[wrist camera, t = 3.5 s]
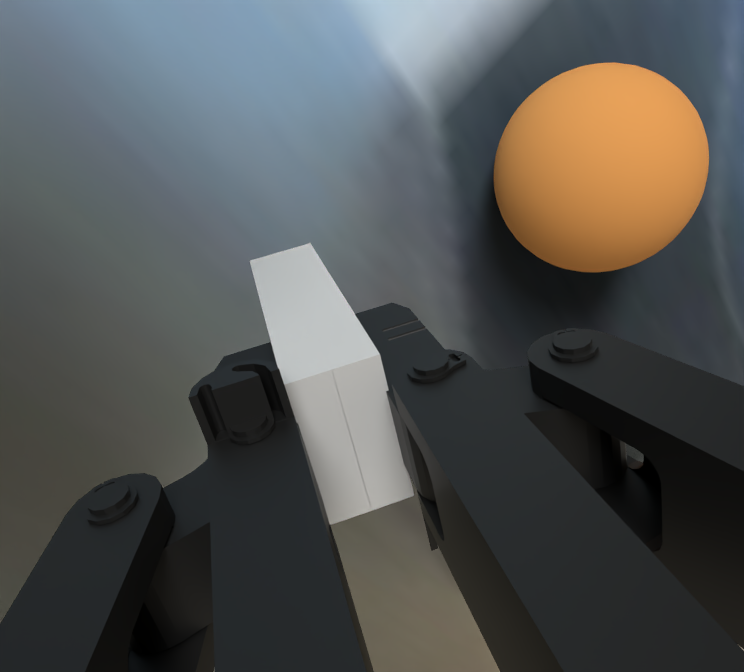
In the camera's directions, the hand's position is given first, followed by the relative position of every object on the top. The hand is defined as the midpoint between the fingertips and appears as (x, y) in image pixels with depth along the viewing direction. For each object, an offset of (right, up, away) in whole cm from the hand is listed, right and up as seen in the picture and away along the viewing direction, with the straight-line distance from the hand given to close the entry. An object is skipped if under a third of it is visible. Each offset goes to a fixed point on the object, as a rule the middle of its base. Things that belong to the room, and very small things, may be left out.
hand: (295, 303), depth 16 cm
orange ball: (+9, +4, +4) cm, 10 cm away
